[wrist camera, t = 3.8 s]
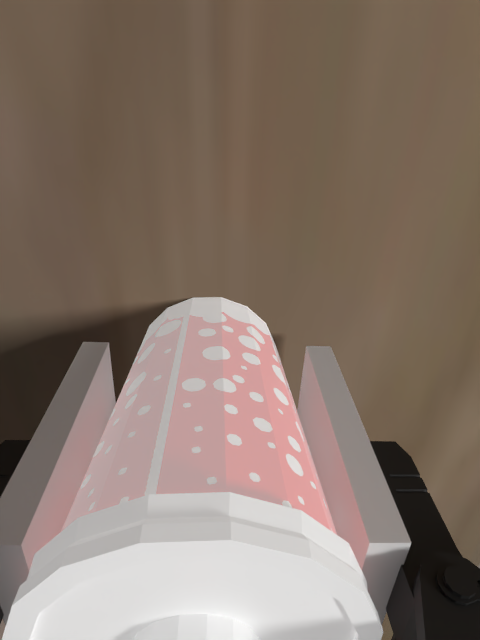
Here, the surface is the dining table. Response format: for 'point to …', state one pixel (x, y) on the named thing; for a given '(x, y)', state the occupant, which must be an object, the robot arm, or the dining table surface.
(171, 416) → the beverage cup
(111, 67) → the dining table surface
